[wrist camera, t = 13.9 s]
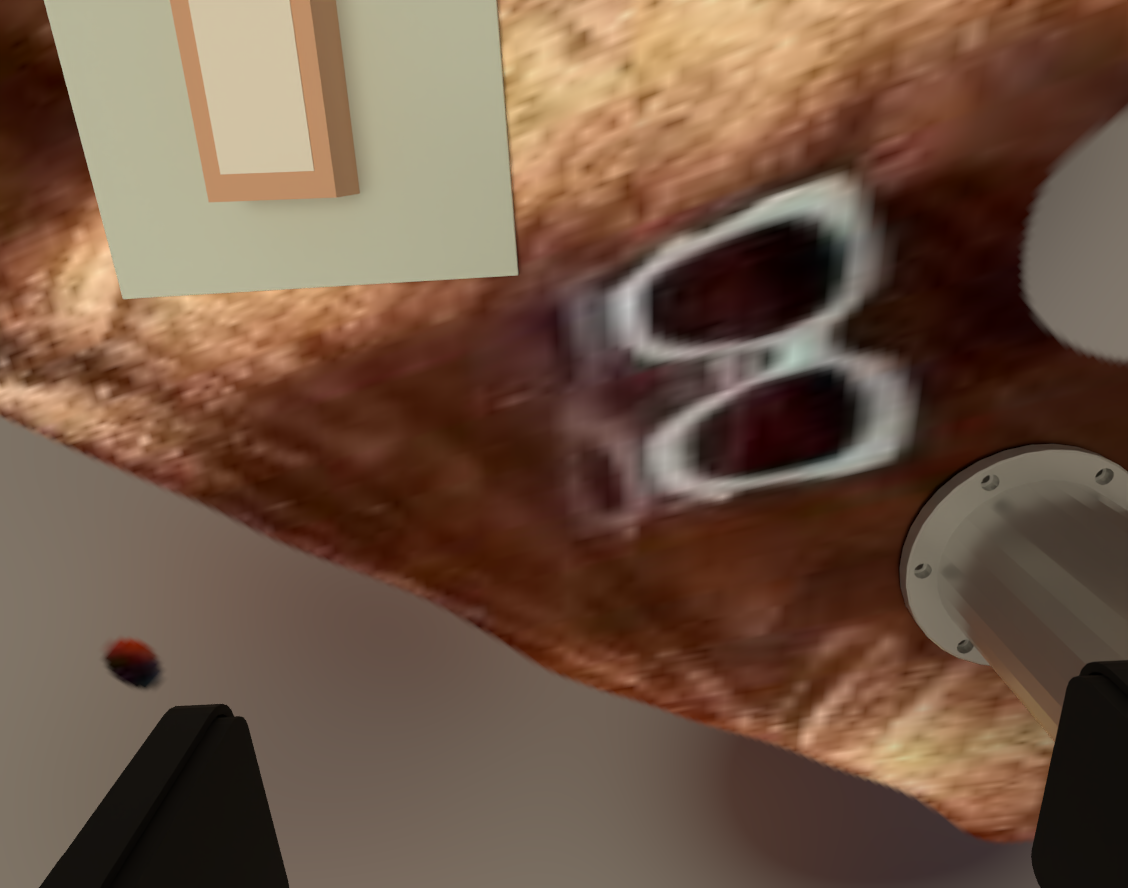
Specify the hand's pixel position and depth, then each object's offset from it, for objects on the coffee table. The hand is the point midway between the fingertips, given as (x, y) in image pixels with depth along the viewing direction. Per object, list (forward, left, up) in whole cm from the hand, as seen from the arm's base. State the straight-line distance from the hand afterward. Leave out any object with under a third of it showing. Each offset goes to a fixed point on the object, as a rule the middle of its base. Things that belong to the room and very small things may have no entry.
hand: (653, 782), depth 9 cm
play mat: (+12, -10, -28) cm, 32 cm away
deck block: (+12, -10, -28) cm, 32 cm away
